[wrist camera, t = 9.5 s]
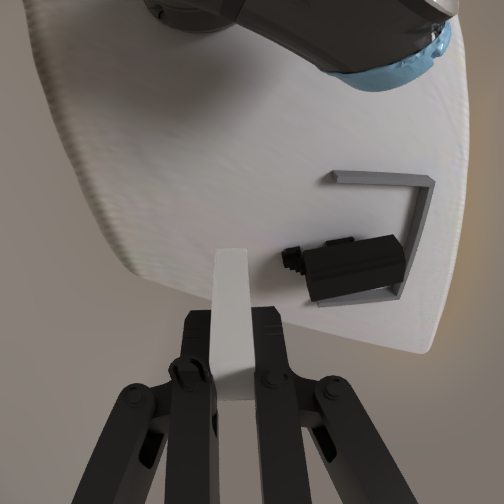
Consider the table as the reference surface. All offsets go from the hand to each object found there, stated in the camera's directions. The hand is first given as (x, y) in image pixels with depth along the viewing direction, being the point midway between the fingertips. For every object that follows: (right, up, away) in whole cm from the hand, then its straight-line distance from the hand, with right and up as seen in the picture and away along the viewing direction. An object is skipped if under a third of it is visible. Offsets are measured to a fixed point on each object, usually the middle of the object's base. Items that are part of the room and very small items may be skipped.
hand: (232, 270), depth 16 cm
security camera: (+15, +2, +36) cm, 39 cm away
